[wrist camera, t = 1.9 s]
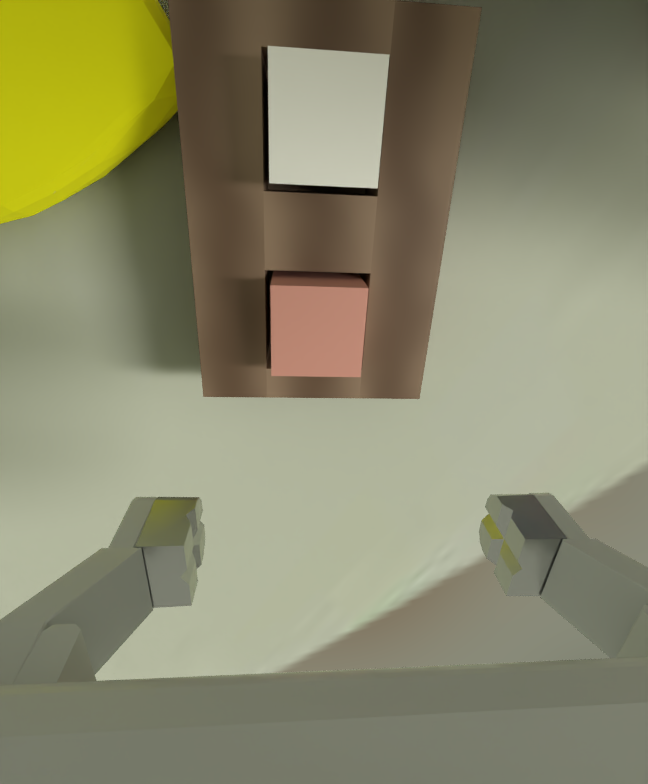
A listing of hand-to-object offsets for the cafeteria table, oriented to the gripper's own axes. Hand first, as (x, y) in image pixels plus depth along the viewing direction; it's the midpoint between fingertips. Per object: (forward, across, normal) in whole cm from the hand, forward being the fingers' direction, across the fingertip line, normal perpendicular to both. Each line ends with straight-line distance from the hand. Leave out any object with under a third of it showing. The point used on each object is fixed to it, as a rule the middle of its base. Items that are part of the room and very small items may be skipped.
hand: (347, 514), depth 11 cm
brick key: (+18, 0, 0) cm, 18 cm away
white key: (+18, 0, -10) cm, 21 cm away
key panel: (+21, 0, -5) cm, 22 cm away
